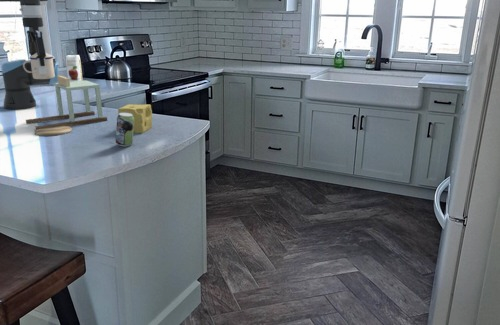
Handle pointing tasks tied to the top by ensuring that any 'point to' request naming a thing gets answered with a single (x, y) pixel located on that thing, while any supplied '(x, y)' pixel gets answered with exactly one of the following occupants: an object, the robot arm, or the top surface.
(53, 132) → the trivet
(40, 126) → the rails
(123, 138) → the beverage can
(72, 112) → the small green table
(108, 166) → the top surface
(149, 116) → the cheese
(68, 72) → the juice carton
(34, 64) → the teacup with lid
